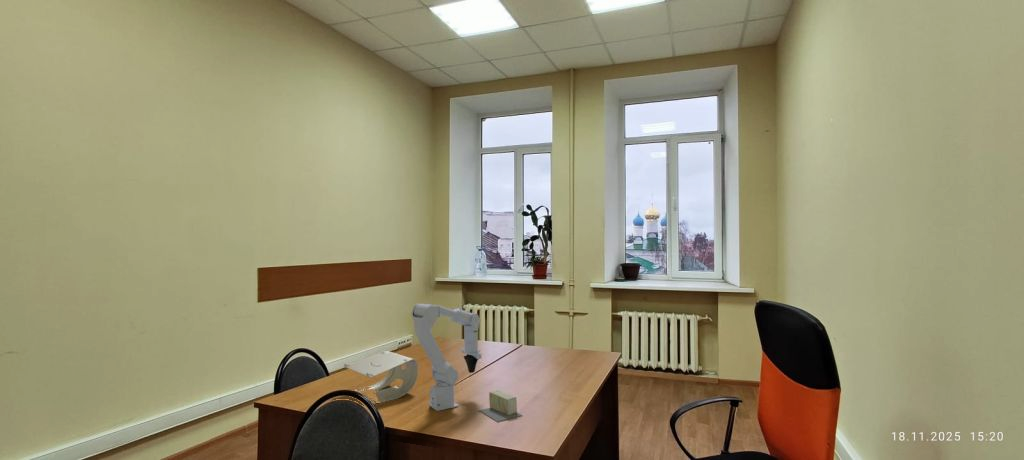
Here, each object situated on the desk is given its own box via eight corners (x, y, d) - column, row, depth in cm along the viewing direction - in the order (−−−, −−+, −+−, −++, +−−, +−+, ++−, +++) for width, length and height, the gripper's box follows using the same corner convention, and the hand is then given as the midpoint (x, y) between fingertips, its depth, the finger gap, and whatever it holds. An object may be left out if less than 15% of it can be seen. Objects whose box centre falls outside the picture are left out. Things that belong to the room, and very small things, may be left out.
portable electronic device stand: (419, 393, 205) (419, 358, 205) (370, 406, 188) (370, 368, 189) (390, 381, 223) (390, 349, 223) (342, 392, 206) (342, 358, 207)
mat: (497, 422, 170) (497, 421, 170) (479, 411, 182) (479, 410, 182) (522, 415, 176) (522, 415, 176) (502, 405, 188) (502, 404, 188)
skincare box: (488, 392, 185) (507, 399, 176) (497, 389, 188) (516, 396, 178) (489, 407, 185) (508, 415, 176) (498, 405, 188) (517, 412, 178)
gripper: (487, 342, 196) (488, 374, 196) (471, 336, 208) (471, 366, 208) (472, 344, 192) (473, 377, 192) (457, 338, 204) (457, 369, 204)
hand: (471, 372), depth 199 cm, fingers closed
